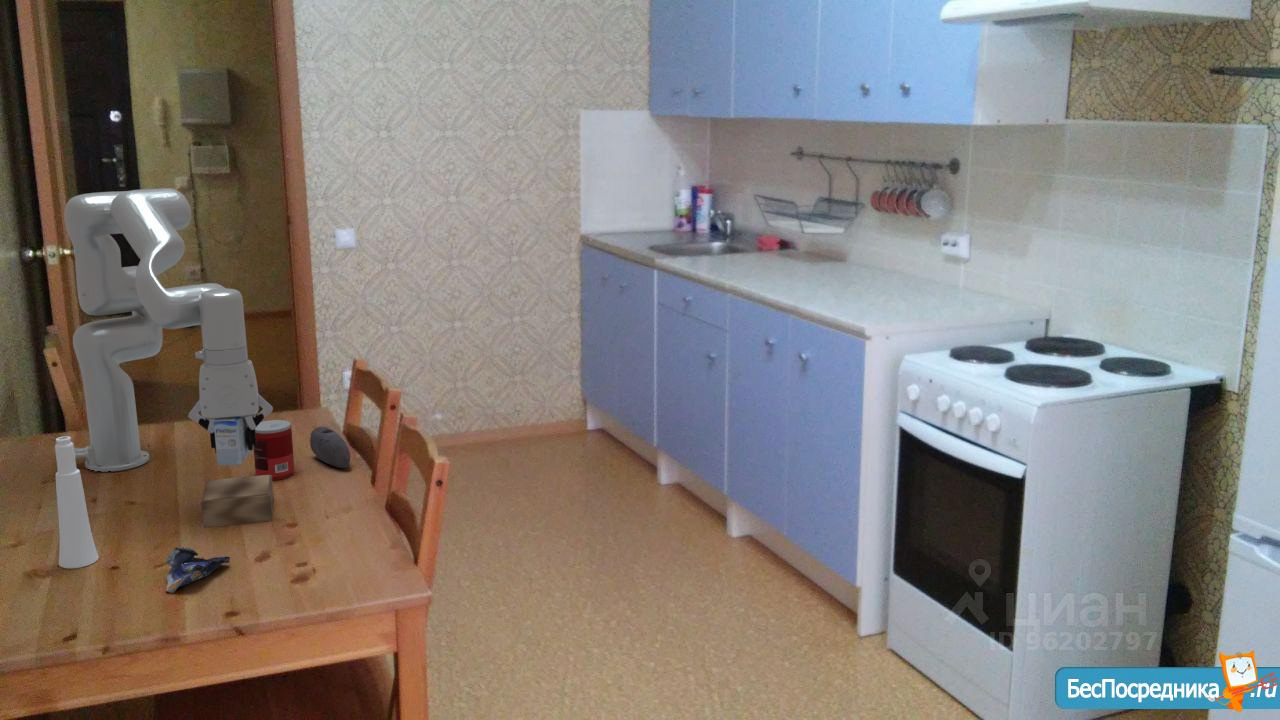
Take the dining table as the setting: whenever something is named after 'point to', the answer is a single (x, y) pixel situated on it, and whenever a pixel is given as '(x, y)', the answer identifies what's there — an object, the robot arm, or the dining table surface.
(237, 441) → the medicine box
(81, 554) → the cosmetic bottle
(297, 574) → the dining table surface
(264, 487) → the block
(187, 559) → the snack package
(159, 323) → the robot arm
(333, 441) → the perforated stone tool
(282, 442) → the canned food
